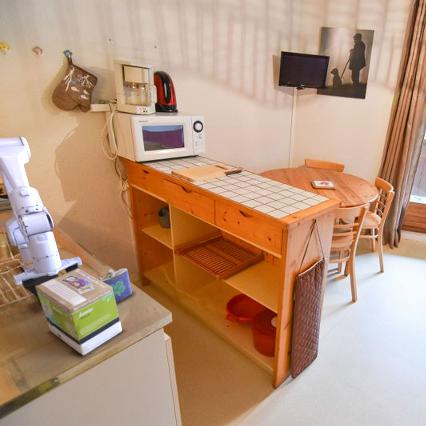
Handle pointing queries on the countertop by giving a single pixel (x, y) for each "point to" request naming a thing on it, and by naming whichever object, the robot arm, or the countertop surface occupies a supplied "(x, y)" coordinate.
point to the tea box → (80, 310)
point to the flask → (118, 283)
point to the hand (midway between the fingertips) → (56, 294)
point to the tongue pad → (44, 279)
